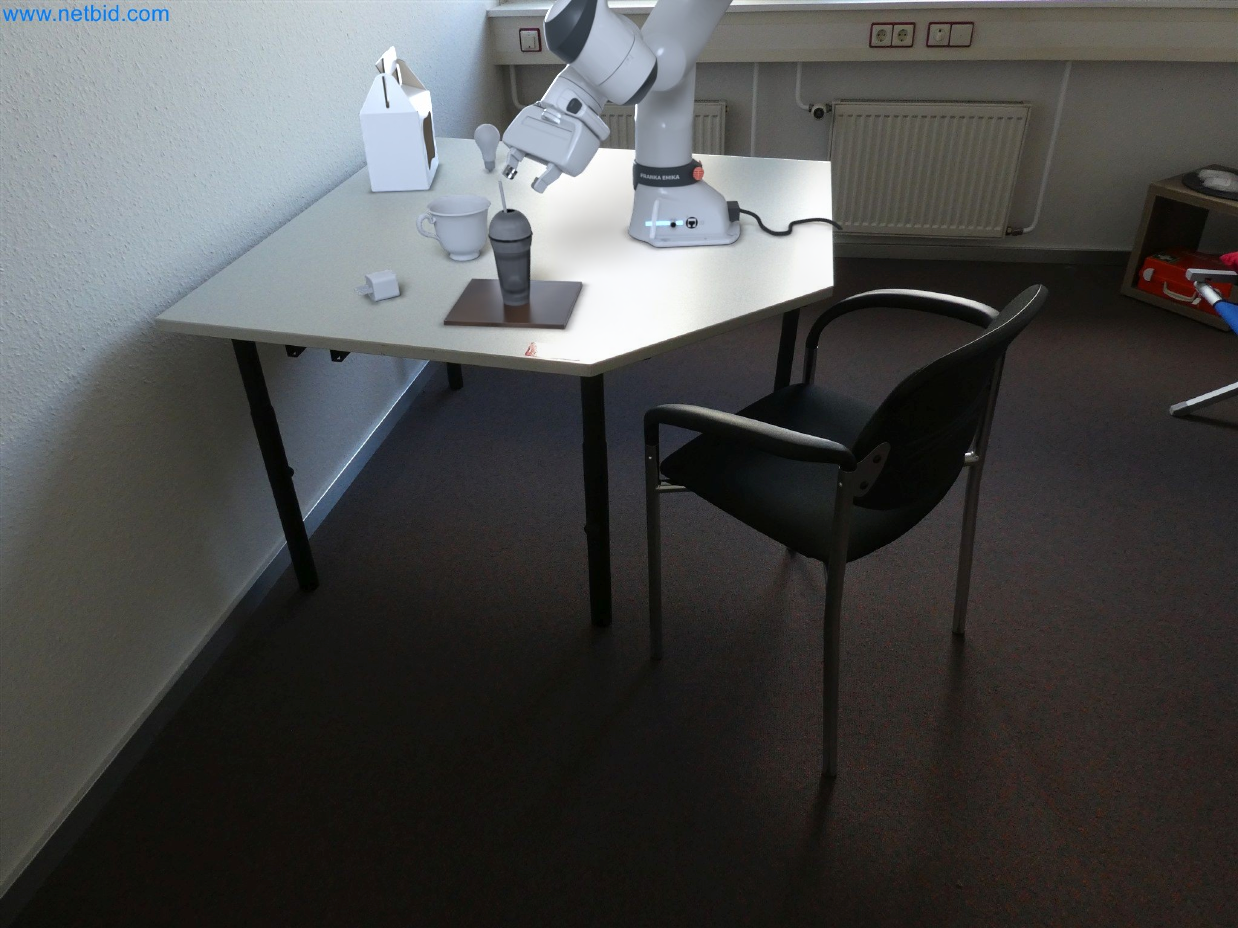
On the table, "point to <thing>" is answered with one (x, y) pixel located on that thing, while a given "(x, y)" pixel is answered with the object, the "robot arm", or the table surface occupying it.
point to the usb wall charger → (380, 285)
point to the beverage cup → (512, 253)
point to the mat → (488, 308)
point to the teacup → (458, 224)
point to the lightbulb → (487, 143)
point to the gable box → (398, 129)
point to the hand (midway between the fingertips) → (520, 183)
